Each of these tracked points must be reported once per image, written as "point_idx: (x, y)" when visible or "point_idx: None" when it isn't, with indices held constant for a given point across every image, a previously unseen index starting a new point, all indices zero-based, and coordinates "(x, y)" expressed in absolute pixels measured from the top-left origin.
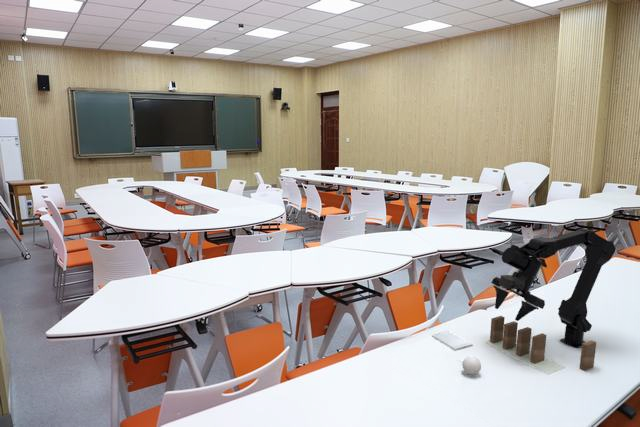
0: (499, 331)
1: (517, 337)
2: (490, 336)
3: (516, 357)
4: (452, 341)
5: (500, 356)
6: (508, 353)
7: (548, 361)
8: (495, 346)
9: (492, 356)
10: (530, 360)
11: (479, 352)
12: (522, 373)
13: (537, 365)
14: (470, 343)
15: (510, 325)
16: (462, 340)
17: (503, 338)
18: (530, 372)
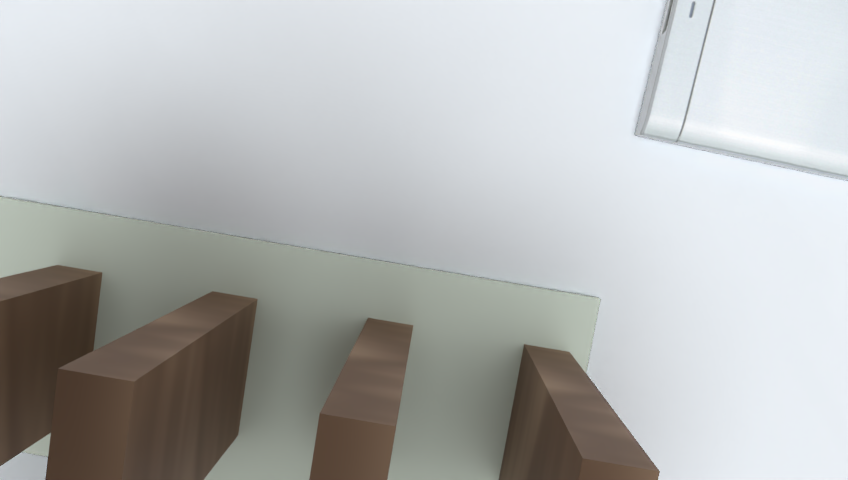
0: (525, 475)
1: (180, 345)
2: (578, 369)
3: (224, 252)
4: (829, 1)
5: (342, 167)
6: (316, 268)
7: None
8: (476, 303)
9: (391, 104)
10: (92, 275)
11: (519, 76)
12: (43, 27)
13: (26, 259)
14: (668, 124)
15: (312, 465)
16: (766, 115)
17: (403, 353)
18: (11, 104)
